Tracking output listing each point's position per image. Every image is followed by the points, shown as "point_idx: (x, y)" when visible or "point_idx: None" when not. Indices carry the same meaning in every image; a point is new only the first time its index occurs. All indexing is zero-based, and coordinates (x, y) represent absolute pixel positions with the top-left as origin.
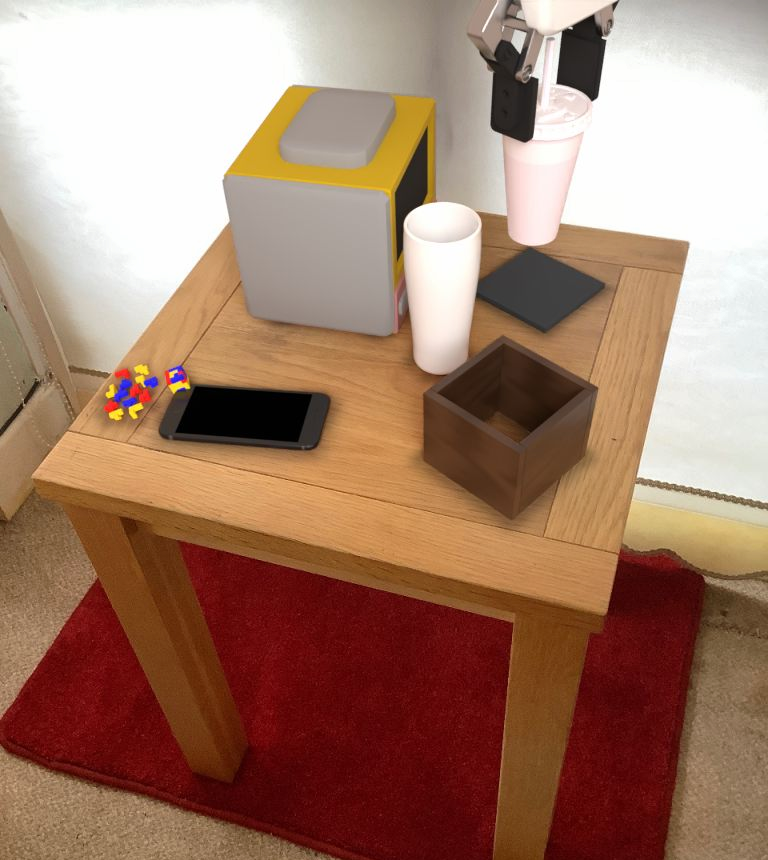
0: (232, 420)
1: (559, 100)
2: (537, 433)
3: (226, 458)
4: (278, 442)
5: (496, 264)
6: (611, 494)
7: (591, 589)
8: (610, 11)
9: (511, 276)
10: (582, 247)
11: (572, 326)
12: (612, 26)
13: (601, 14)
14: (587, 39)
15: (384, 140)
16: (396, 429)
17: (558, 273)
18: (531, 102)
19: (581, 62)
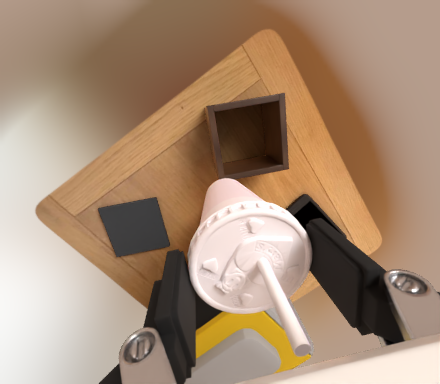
0: None
1: (237, 262)
2: (265, 99)
3: (332, 212)
4: (316, 205)
5: (141, 255)
6: (212, 76)
7: (267, 32)
8: (131, 382)
9: (143, 242)
10: (86, 243)
11: (138, 192)
12: (124, 346)
13: (171, 377)
14: (177, 337)
15: (213, 346)
16: (265, 183)
17: (117, 230)
18: (354, 246)
19: (186, 304)
